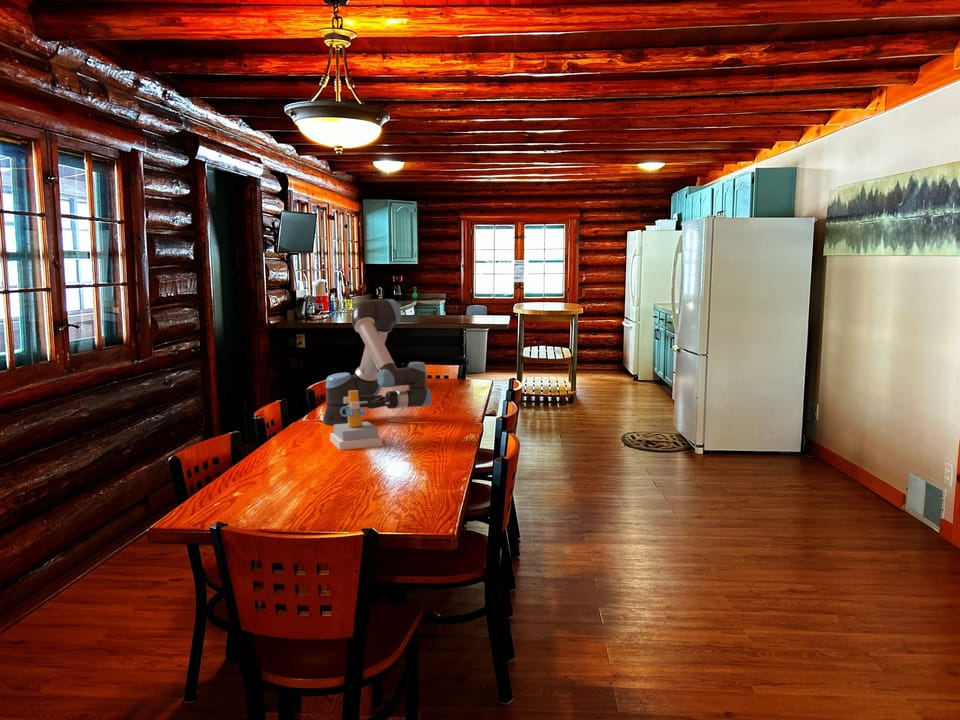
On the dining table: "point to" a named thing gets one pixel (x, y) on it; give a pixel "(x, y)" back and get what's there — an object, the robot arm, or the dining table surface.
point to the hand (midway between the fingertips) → (347, 402)
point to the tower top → (355, 431)
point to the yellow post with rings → (354, 410)
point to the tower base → (355, 442)
